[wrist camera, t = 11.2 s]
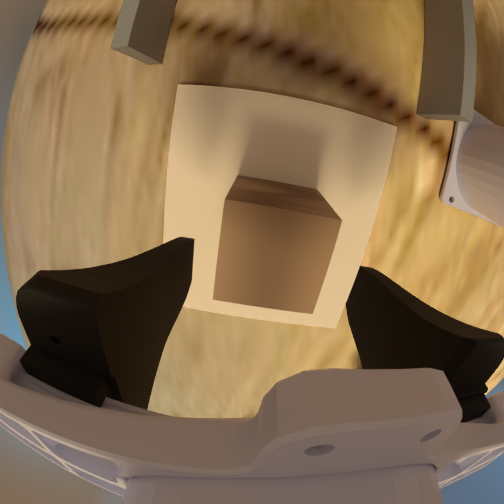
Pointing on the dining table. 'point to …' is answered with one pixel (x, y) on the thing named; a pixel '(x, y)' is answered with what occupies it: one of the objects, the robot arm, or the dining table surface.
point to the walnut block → (274, 245)
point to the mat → (275, 169)
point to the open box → (434, 56)
